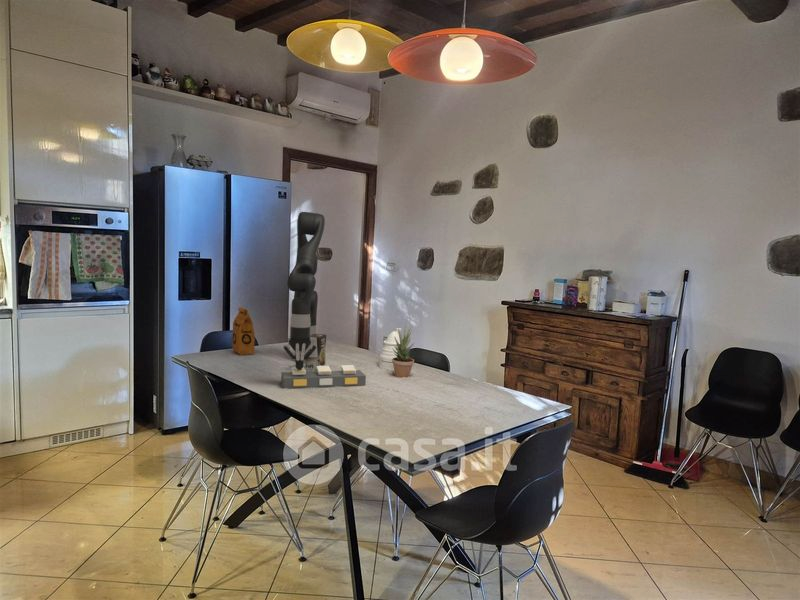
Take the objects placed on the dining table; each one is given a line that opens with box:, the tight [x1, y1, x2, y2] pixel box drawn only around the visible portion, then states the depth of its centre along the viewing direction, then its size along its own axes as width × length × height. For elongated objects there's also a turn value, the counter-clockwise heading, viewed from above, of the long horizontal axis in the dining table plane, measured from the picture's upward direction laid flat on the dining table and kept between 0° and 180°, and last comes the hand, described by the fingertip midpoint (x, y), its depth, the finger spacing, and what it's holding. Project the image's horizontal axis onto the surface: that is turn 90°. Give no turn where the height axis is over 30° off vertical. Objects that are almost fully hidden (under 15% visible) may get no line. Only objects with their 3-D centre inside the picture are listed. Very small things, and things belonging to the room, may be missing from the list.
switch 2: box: [316, 365, 332, 375], centre depth 223 cm, size 6×5×1 cm
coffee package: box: [231, 306, 256, 356], centre depth 274 cm, size 10×12×22 cm
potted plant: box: [392, 322, 415, 378], centre depth 242 cm, size 10×10×25 cm
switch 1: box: [290, 366, 306, 375], centre depth 220 cm, size 6×5×1 cm
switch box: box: [280, 369, 367, 389], centre depth 223 cm, size 11×32×4 cm, turn 108°
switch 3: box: [340, 364, 357, 374], centre depth 226 cm, size 6×5×1 cm
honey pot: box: [378, 327, 408, 371], centre depth 259 cm, size 13×13×18 cm
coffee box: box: [304, 333, 327, 372], centre depth 242 cm, size 9×6×16 cm
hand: (299, 369), depth 218 cm, fingers closed
